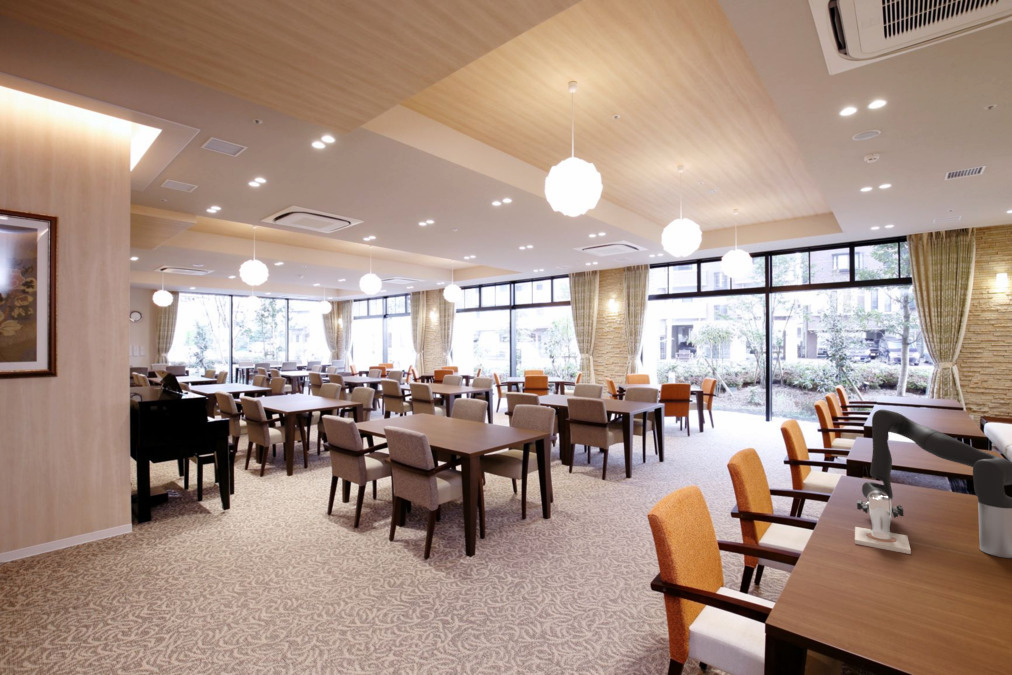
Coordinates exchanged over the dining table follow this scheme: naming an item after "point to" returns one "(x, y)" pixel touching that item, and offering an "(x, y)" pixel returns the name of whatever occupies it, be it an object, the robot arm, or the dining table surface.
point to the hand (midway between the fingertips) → (880, 512)
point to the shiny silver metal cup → (880, 516)
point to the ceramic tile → (882, 541)
